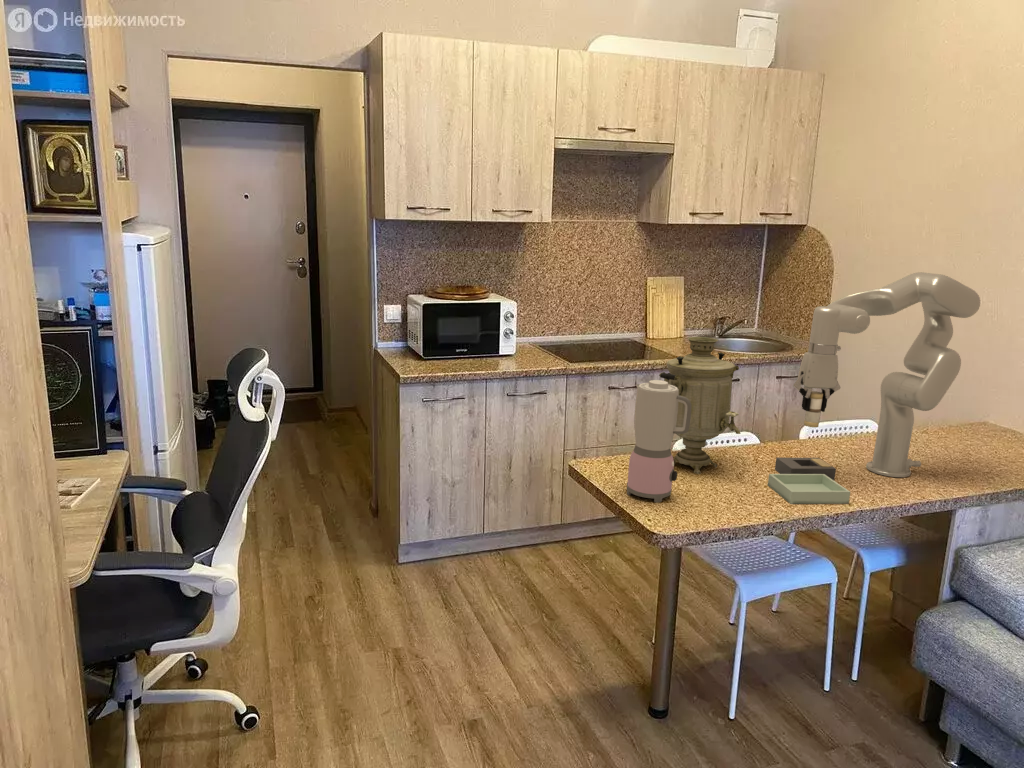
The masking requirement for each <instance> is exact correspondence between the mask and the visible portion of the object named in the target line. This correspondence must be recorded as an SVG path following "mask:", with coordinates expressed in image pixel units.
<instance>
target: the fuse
mask: <svg viewBox="0 0 1024 768" xmlns="http://www.w3.org/2000/svg"><path fill="white" fill-rule="evenodd" d="M810 398H811V403H810V410H809V411H805V412H804V413H805V414H804V415H805V416H804V419H803V426H806V427H809V428H818V427H819V424H820V419H821V417H820V416H821V412H822V411H821V405H822V399H823V393H821V391H816V390H812V391H811V394H810Z"/></svg>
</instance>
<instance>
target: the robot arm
mask: <svg viewBox="0 0 1024 768" xmlns="http://www.w3.org/2000/svg"><path fill="white" fill-rule="evenodd" d="M920 302H921V307H922V311H923V316H924V317H923V318H924V320H923V321H924V322H923V325H922V328H921V330H920V332H919V333H918V335H917V336H916V338H915V340H914V341H913V343H912V344H911V345H910V347H909V349H908V350H907V351H906V354H905V356H904V358H903V365H904V367H905V368H906V369H907V371H908V370H909V371H910V372H912V373H916V374H920V375H923V376H924V377H923V376H922V377H921V376H917V375H915V374H910V373H907V372H903V371H893V372H890V373H888V374H887V375H885V377H883V379H882V381H881V384H880V413H879V419H878V425H877V431H876V437H875V444H874V449H873V456H872V460H871V461H868V462H867V463H866V466H865V468H866V469H867V470H869V472H870V471H871V473H874V474H877V475H881V476H885V477H891V478H906V477H907V478H908V477H910V476H911V474H912V471H911V469H910V468H912V467H913V468H914V467H916V468H921V466H922V462H921V461H920V460H912V459H911V458H908V457H909V451H910V446H911V441H912V440H911V439H912V436H913V435H912V433H913V427H914V424H915V423H914V422H915V413H914V410H917V411H922V412H927V411H932V410H933V409H935V408H936V407H937V406H938V405H939V404H940V402H942V399H943V398H944V396H945V395H946V393H947V392H948V390H949V389H950V388H951V386H952V384H953V382H954V381H955V380H956V378H957V376H958V375H959V373H960V371H961V366H962V359H961V355H960V354H959V353H958V352H957V351H956V350H955V349H952V348H949V347H948V345H949V343H950V342H951V340H952V338H953V336H954V327H953V323H952V318H951V317H954V318H961V319H969V318H971V317H972V316H974V315H975V314H976V313H977V312H978V311H979V309H980V307H981V297H980V295H979V294H978V292H977V291H975V290H974V289H972V288H971V287H969V286H967V285H965V284H963V283H962V282H959V281H958V280H956V279H954V278H952V277H951V276H947V275H946V274H939V273H931V272H924V271H923V272H919V271H918V272H913V273H910V274H909V275H906V276H903V277H902V278H899V279H898V280H896V281H894V282H891V283H889V284H887V285H884V286H881V287H880V288H875V289H869V290H865V291H862V292H857V293H854V294H849V295H846V296H843V297H842V298H840V299H839V298H838V299H837V300H834V301H833V302H831V303H829V304H828V305H827V306H824V305H821V306H816V307H815V308H814V310H813V313H812V314H813V315H812V322H811V326H810V327H811V329H810V335H809V336H810V337H809V341H808V342H809V343H808V350H807V352H804V353H803V356H802V358H801V359H802V360H801V363H800V367H799V369H798V370H799V371H798V375H797V379H796V381H795V382H794V383H793V385H792V387H793V388H795V390H797V391H798V393H800V394H801V396H802V402H801V409H802V410H804V411H805V412H806V411H809V410H810V403H811V398H810V394H811V391H813V389H820V392H821V393H823V399H822V405H821V412H822V413H824V412H826V408H827V404H828V400H829V399H830V397H831V396H832V395H833V394H834V393H835V392H837V391H839V390H840V389H841V385H840V383H839V381H838V375H839V357H838V355H837V353H838V351H841V350H842V347H841V346H840V345H838V341H839V338H840V337H839V336H840V335H839V334H840V333H847V334H850V335H851V334H852V335H853V334H854V335H856V334H857V335H858V334H861V333H864V331H866V330H867V329H868V328H869V326H870V325H871V316H872V317H873V316H875V317H879V316H881V317H882V316H883V317H884V316H890V315H894V314H897V313H899V312H900V311H903V310H904V309H907V308H908V307H911V306H914V305H915V304H917V303H920ZM802 386H803V387H802Z"/></svg>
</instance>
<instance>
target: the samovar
mask: <svg viewBox="0 0 1024 768" xmlns="http://www.w3.org/2000/svg"><path fill="white" fill-rule="evenodd" d="M687 340H688V341H689V342H690V345H689V348H690V350H691V353H688V354H686V355H684V356H681V355H680V356H677V357H675V358H672V359H668V360H667V361H666V367H667V370H668V372H667V373H666V372H664V371H663V372H660V373H659V375H658V376H659V377H660V378H661V379H664V380H663V381H666V382H668V384H669V385H673V386H675V387H677V388H678V390H679V393H678V395H679V396H683V397H686V398H688V399H689V400H690V402H691V419H690V426H689V430H688V432H687V433H684V434H675V435H676V436H678V437H680V438H682V445H683V446H685V448H683V449H681V450H680V451H677V452H676V454H675V456H674V457H673V460H674V464H676V463H679V464H680V465H681V464H683V465H685V466H690V467H691V468H692V469H693V470H694V471H693V473H694V474H696V475H700V474H701V473H702V472H701V468H702V467H703V466H705V467H707V466H708V465H711V466H714V467H715V468H717V467H718V464H717V462H714V461H713V460H712V459H711V456H710V455H709V454H708V453H707V452H705V451H704V450H703V448H706V445H707V440H712V439H714V438H717V437H718V436H719V435H720V434H723V433H724V432H725V430H726V429H728V428H729V430H730V431H732V432H735V434H736V435H741V431H740V429H739V427H737V426H736V424H735V420H734V419H735V418H736V417H737V416H739V415H740V414H739V412H736V411H731V402H732V387H733V378H734V373H735V372H736V371H739V370H740V367H739V365H735V363H732V362H730V361H728V360H724V359H723V357H724V356H725V353H723V352H717V354H718V357H717V356H715V355H714V354H712V352H713V351H714V349H715V348H714V346H715V344H716V343H717V342H718V341H719V339H717V338H713V337H703V336H692V337H691V336H689V337H687ZM684 413H685V405H684V404H683V403H681V402H678V412H677V421H676V427H679V428H682V427H683V422H684Z"/></svg>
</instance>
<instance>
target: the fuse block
mask: <svg viewBox="0 0 1024 768" xmlns="http://www.w3.org/2000/svg"><path fill="white" fill-rule="evenodd" d="M775 458H776V459H775V464H774V465H775V466H774V471H776V472H777V474H825V475H826V476H828V477H829V478H831V479H832V480H834V481H836V480H835V477H836V472H837V468H836V467H835V466H833V465H831V464H830V463H828V462H826V461H825V460H824V459H822V458H820V457H782V456H781V457H779V456H778V457H775Z"/></svg>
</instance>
